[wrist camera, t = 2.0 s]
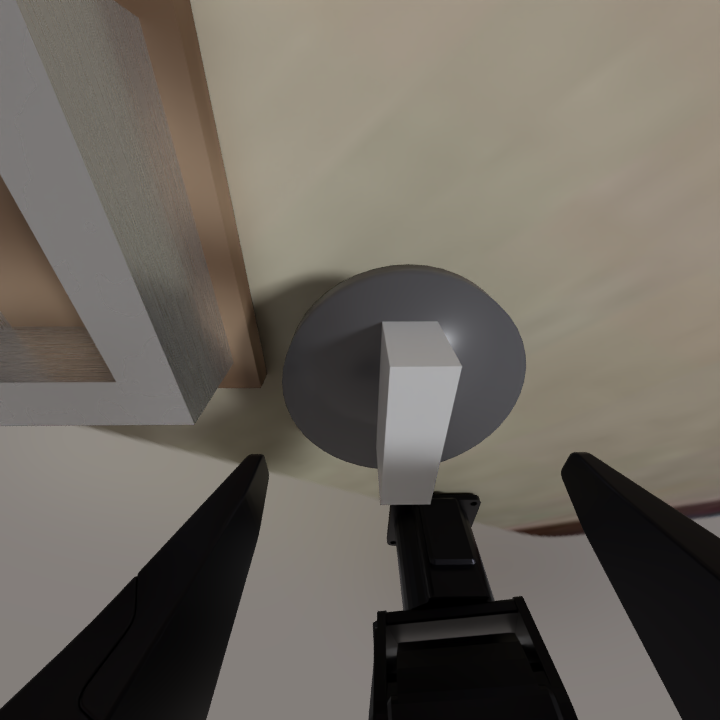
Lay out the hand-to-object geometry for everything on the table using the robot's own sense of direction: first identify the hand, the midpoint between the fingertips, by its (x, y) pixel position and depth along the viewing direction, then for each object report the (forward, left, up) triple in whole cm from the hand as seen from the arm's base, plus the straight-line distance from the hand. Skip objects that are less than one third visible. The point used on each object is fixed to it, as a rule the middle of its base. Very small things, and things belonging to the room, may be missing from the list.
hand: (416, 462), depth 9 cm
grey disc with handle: (0, 0, -7) cm, 7 cm away
